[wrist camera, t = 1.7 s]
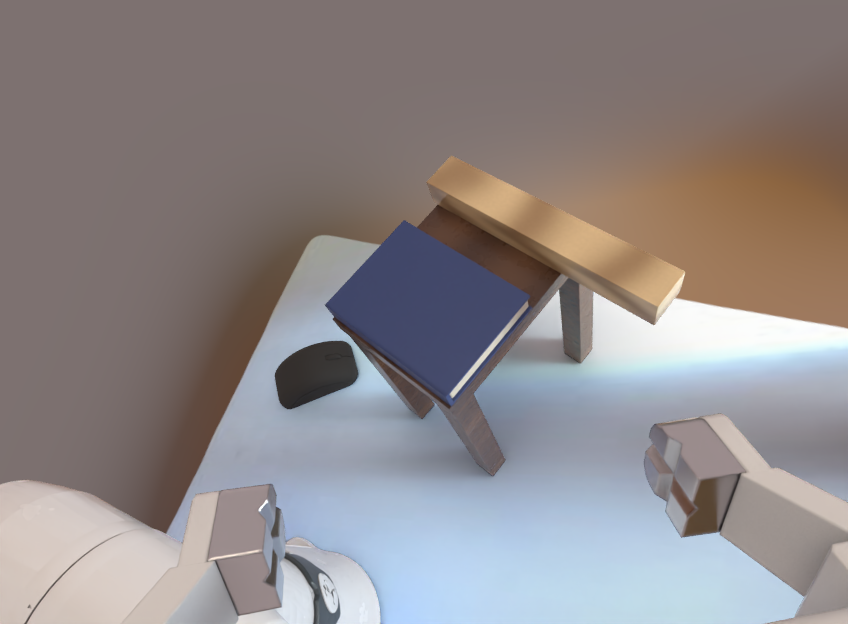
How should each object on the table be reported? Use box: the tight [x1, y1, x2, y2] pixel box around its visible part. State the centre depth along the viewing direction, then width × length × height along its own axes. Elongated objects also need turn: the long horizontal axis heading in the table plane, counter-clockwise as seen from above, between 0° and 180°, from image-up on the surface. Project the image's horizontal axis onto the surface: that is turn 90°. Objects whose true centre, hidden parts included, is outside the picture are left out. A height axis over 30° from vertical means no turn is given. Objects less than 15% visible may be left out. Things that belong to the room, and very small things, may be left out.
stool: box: [333, 205, 593, 476], centre depth 62 cm, size 14×20×25 cm
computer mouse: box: [275, 341, 358, 409], centre depth 77 cm, size 6×11×4 cm, turn 108°
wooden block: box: [427, 156, 685, 325], centre depth 49 cm, size 23×4×3 cm, turn 49°
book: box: [325, 221, 532, 407], centre depth 49 cm, size 14×10×2 cm
